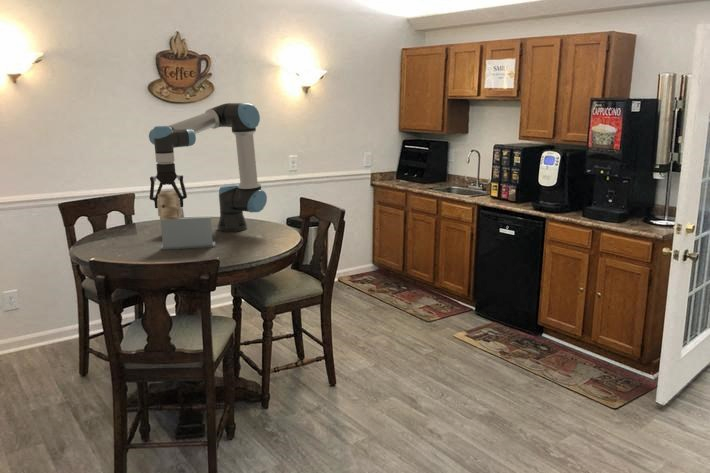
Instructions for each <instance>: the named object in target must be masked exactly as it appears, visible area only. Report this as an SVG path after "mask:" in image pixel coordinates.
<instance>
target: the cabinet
mask: <svg viewBox="0 0 710 473" xmlns="http://www.w3.org/2000/svg"><path fill="white" fill-rule="evenodd" d="M178 200H179V197H178V193H176V192H175V190H174V189H172V190H170V189H169V190H161V191H160V194H158V204H159V214H160V216H159V220H160V221H161V220H168V219H179V218H180V215H179V205H178Z"/></svg>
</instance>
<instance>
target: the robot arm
mask: <svg viewBox="0 0 710 473" xmlns="http://www.w3.org/2000/svg"><path fill="white" fill-rule="evenodd" d="M260 121H261V116H260V112H259V110H258V109H257V107H256V106H255V105H253V104H251V103H246V102H234V103H233V102H232V103H231V102H227V103H223V104H220V105H217V106H214V107H212V108H209V109H207V110H205V112H204V113H201V114H198V115H195V116H193V117H192V116H191V117H190V118H187V119H184V120H181V121H178V122H175V123H173V124H170V125H156V126H154V127H153V128H152V129H151V130H150V131H149V132H148V133H149V134H148V139H149V142H150V143H151V144H152V145H154V151H155V154H154V155H155V162H156V166H155V167H156V175H155V176H150V177H149V181H150V191H149V200H150V201H153V202H154V208H155V209H157V214H158V217H160V214H159V204H158V194H160V191H162V189H163V186H165V185H168V186H170V185H171V187H172V188H173V190H175V192H176V193H178V197H179V200H178V205H179V215H181V214H182V213H181V207H183V208H184V199H187V198H188V195H187V191H186V188H185V187H186V186H185V183H184V175H177V173H176V166H175V165H176V164H175V152H174V149H175V148H183V147H187V148H188V147H192V146H194V145H195V143H196V141H197V138H196V134H199V133H200V132H204V131H208V130H209V129H214V130H215V129H218V128H231V132H232V134H233V135H234V136H235V143H236V153H237V154H236V155H237V161H238V162H237V164H238V174H239V183H238V184H230V185H229V184H228V185H223V186H220V187H219V190H218V200H219V201H218V202H219V214H220V215H219V219H218V222H217V230H218V231H220V232H225V233H226V232H227V233H228V232H229V233H231V232H232V233H233V232H241V231H244V230H247V228H248V224H247V221H246V219H245V215H244V212H247V213H260V212H261V211H263V210H264V208H265V206H266V205H267V201H268V200H267V199H268V196H267V193H266V192H265V191H264V190H262V185H261V183H260V182H258V172H257V164H256V162H257V160H256V151H255V150H256V149H255V142H254V140H255V139H254V134H255V133H256V130H257V129H256V128H258V126H259V124H260ZM176 179H177V180H178V181H179V184H180V188H181V191H182V193H181V191H180V189H179V188H178V185H177V184H176V182H175V181H176ZM157 180H158V182H159V186H158V187H157V191H156V194H154V191H155V182H156V181H157ZM154 195H155V196H154Z"/></svg>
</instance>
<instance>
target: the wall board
mask: <svg viewBox="0 0 710 473" xmlns="http://www.w3.org/2000/svg"><path fill="white" fill-rule="evenodd" d="M160 226H161V227H160V228H161V240H162V245H161V246H160V250H161V251H162V250H166V251H167V250H182V249H198V248H199V249H202V248H203V249H204V248H214V247H216V241H213V229H212V228H213V227H212V216H198V217H197V216H196V217H184V218H179V219H168V220H160Z"/></svg>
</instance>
